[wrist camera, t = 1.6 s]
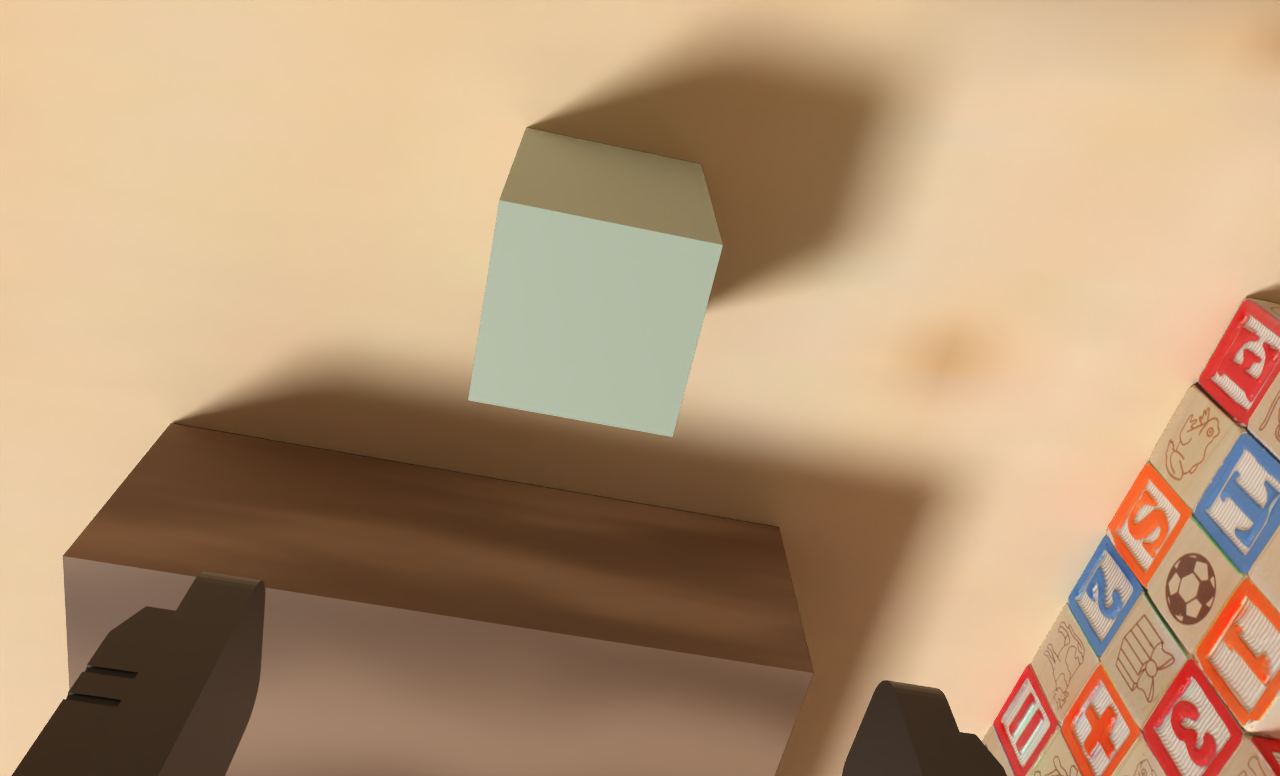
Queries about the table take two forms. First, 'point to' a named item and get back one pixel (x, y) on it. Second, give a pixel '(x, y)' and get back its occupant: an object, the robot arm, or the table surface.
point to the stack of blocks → (1174, 599)
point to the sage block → (596, 284)
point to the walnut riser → (457, 615)
